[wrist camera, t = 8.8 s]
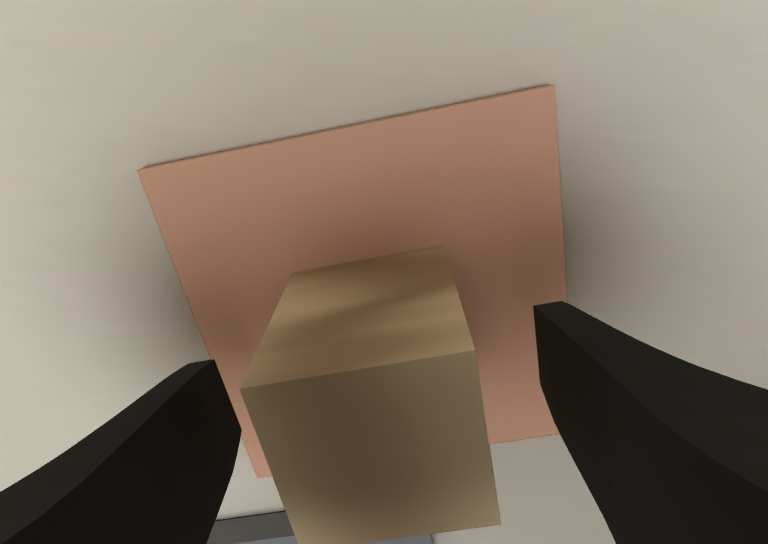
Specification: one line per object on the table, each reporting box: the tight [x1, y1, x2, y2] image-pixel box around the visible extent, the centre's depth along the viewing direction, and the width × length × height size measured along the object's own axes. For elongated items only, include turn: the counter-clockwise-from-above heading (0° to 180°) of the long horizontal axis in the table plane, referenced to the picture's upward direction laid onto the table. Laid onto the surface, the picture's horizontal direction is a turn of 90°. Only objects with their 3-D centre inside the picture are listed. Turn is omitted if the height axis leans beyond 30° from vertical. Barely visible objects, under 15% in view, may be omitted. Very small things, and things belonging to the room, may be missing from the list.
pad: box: [137, 85, 567, 478], centre depth 14 cm, size 10×10×1 cm
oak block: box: [239, 245, 501, 544], centre depth 11 cm, size 4×4×5 cm
